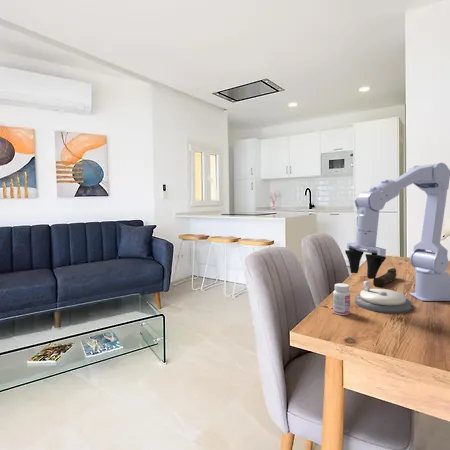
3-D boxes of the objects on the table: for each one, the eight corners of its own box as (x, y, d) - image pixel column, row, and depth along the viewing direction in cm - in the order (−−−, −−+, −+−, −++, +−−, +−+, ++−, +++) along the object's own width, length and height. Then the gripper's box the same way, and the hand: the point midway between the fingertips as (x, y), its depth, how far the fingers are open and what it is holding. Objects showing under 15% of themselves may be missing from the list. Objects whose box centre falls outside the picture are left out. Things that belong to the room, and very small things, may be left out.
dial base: (396, 296, 110) (396, 291, 110) (422, 313, 94) (422, 307, 94) (348, 296, 111) (348, 292, 111) (366, 313, 95) (366, 308, 95)
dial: (414, 300, 100) (414, 286, 100) (390, 308, 93) (391, 293, 93) (375, 290, 111) (375, 277, 111) (351, 297, 104) (351, 284, 104)
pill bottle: (348, 316, 93) (348, 287, 92) (331, 313, 95) (331, 285, 94) (351, 311, 97) (351, 283, 96) (335, 308, 99) (335, 282, 98)
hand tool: (383, 289, 120) (384, 276, 119) (372, 287, 122) (373, 275, 122) (402, 279, 132) (402, 268, 132) (391, 278, 135) (392, 267, 135)
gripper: (340, 228, 103) (336, 270, 104) (373, 232, 89) (368, 281, 90) (359, 229, 105) (355, 271, 106) (393, 233, 91) (388, 281, 92)
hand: (362, 275), depth 98 cm, fingers open, 7 cm apart
